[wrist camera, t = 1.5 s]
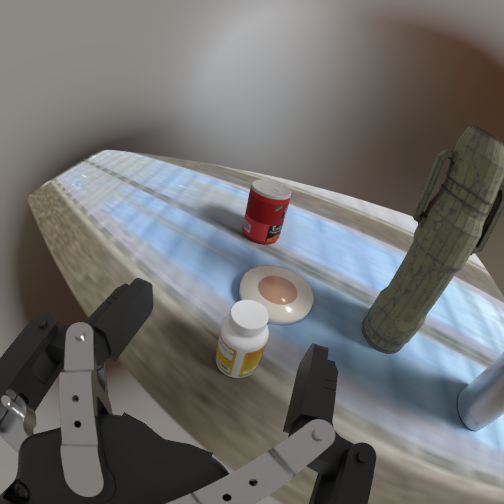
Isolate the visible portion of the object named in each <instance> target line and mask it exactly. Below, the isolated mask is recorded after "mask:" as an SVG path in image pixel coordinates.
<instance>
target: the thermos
mask: <svg viewBox="0 0 504 504" xmlns="http://www.w3.org/2000/svg"><path fill="white" fill-rule="evenodd" d="M503 145H504V144H503V143H502V142H501V141H500V140H498V139H497V138H495V137H494V136H493V135H491V134H489V133H487V132H486V131H484V130H482V129H480V128H478V127H475V126H474V127H473V128H472V127H468V128H467V129H466V131H465V132H464V133H463V135H462V136H461V137H460V139H459V140H458V141H457V145H456V148H455V150H454V152H453V151H451V150H450V151H449V150H446V149H444V150H443V151H441V152H440V153H438V154H436V156H435V159H434V162H433V164H432V167H431V169H430V172H429V174H428V177H427V179H426V182H425V184H424V187H423V189H422V192H421V194H420V196H419V199H418V201H417V204H416V206H415V209H414V212H413V218H414V220H416V221H417V222H418V226H417V228H416V230H415V233H414V241H413V243H412V245H411V247H410V249H409V251H408V253H407V255H406V256H405V258H404V260H403V262H402V264H401V265H400V267H399V269H398V270H397V272H396V274H395V276H394V277H393V279H392V281H391V282H390V284H389V286H388V287H386V288H385V289H384V290H382V291H381V292H380V294H379V296H378V297H377V299H376V300H375V302H374V304H373V305H372V307H371V308H370V310H369V312H368V315H367V316H366V317H365V319H364V321H363V323H362V331H363V334H364V337H365V338H366V340H367V341H368V343H369V344H370V345H371V346H372V347H374V348H375V349H377V350H378V351H380V352H383V353H387V354H393V353H396V352H398V351H399V350H400V349H401V348H402V347H403V346H404V344H405V343H408V342H409V340H410V339H411V338H412V337H413V336H414V334H415V333H416V332H417V331H418V330H419V328H420V327H421V326H422V325H423V323H424V321H425V318H426V315H427V313H428V312H429V310H430V309H431V308H432V306H433V305H434V304H435V302H436V301H437V300H438V298H439V297H440V295H441V294H442V293H443V291H444V290H445V288H446V287H447V285H448V284H449V282H450V281H451V279H452V278H453V276H454V275H455V273H456V272H458V271H459V270H461V269H462V268H463V266H464V265H465V263H466V261H467V260H468V258H469V256H470V255H472V254H473V253H477V252H480V251H482V249H483V247H484V245H485V244H486V242H487V240H488V238H489V236H490V234H491V233H492V231H493V228H494V226H495V225H496V223H497V221H498V219H499V217H500V215H501V212H502V210H503V208H504V186H503V185H502V180H503V177H504V147H503ZM447 157H448V158H449V159H450V160H451V161H450V164H449V166H448V169H447V172H446V178H445V181H444V183H443V184H441V186H440V189H439V191H438V192H437V193H436V194H435V195H434V197H433V198H432V199H431V200H430V201H429V203H428V205H427V207H426V210H425V212H424V211H423V210H424V208H425V206H426V203H427V201H428V199H429V196H430V194H431V192H432V189H433V187H434V185H435V182H436V180H437V177H438V175H439V172H440V170H441V167H442V165H443V162H444V160H445V159H446V158H447ZM497 192H498V195H497V198H496V200H495V202H494V204H493V207H492V209H491V211H490V213H489V215H488V217H487V219H486V221H485V223H484V220H485V218H486V216H487V211H488V208H489V206H490V204H492V203H493V201H494V199H495V196H496V194H497ZM483 224H484V225H483Z"/></svg>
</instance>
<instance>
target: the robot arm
mask: <svg viewBox="0 0 504 504" xmlns="http://www.w3.org/2000/svg"><path fill="white" fill-rule="evenodd" d="M152 309H153V290H152V284H151V283H149V282H147V281H145V280H142V279H140V278H136V279H135V280H134V281H133V282H132V283H131V284H130V285H128V284H124V285H122V286H120V287H118V288H116V289H115V290H114V291H113V293H112V294H111V295H110V296H109V297H108V298H107V299H106V300H105V302H103V303H102V304H101V305H100V306H99V307H98V308H97V310H96V311H95V312H94V313H93V314H92V315H91V316H90V317H89V318H88V319H87V320H86V321H85V322H84V323H83V322H78V323H75V324H73V325H71V326H68V325H65V324H61V323H57V322H55V320H54V317H53V316H52V315H51V314H49V313H40V314H38V315H37V316H35V317H34V318H33V319H32V320H31V322H30V323H29V324H28V325H27V326H26V327H25V328H24V330H23V331H22V332H21V333H20V334H19V336H18V337H17V338H16V339H15V341H14V342H13V343H12V344H11V345H10V347H9V348H8V349H7V351H6V352H5V353H4V354H3V356H2V357H1V358H0V436H1V437H2V438H3V439H4V440H5V441H6V442H7V443H8V444H9V445H10V446H11V447H12V448H13V449H14V450H16V451H17V452H18V453H19V459H18V460H19V462H18V472H17V476H16V479H15V481H14V482H13V483H12V484H11V485H10V486H9V487H8V488H7V489H6V490H5V491H4V492H3V493H2V494H1V495H0V504H255V503H257V502H258V501H260V500H262V499H263V498H265V497H266V496H268V495H269V494H271V493H272V492H274V491H275V490H277V489H278V488H280V487H281V486H283V485H284V484H285V483H287V482H288V481H290V480H291V479H292V478H293V477H294V476H295V474H297V473H298V472H299V471H300V470H302V469H303V468H304V467H305V466H307V467H309V468H311V469H312V470H314V471H316V472H318V475H317V479H316V482H315V486H314V489H313V492H312V495H311V498H310V501H309V504H367V503H368V499H369V495H370V490H371V485H372V480H373V474H374V469H375V462H376V453H375V450H374V449H373V447H372V446H371V445H369V444H367V443H357V444H353V443H351V442H349V441H347V440H345V439H343V438H342V437H340V436H339V435H338V434H337V433H336V432H335V430H334V428H333V424H332V418H333V411H334V403H335V395H336V392H335V391H336V386H337V384H336V383H337V376H338V371H337V368H336V365H335V362H333V361H330V360H327V358H328V348H326V347H323V346H320V345H316V344H312V345H311V346H310V348H309V350H308V351H307V353H306V354H305V356H304V358H303V359H302V361H301V363H300V365H299V368H298V371H297V375H296V379H295V384H294V388H293V393H292V397H291V401H290V405H289V409H288V413H287V417H286V421H285V425H284V429H283V432H287V433H289V436H288V438H287V439H286V440H284V441H283V442H281V443H280V444H279V445H277V446H276V447H274V448H272V449H271V450H269V451H267V452H266V453H264V454H263V455H261V456H259V457H258V458H256V459H255V460H253V461H251V462H250V463H248V464H246V465H245V466H243V467H241V468H239V469H238V470H236V471H234V472H232V473H231V474H229V473H228V471H227V470H226V469H225V467H224V466H223V465H222V464H221V463H220V462H218V461H217V460H216V459H214V458H213V457H211V456H212V454H213V453H211V452H208V451H206V450H203V449H200V448H198V447H195V446H193V445H190V444H185V443H180V442H174V441H170V440H165V439H163V438H162V437H160V436H159V435H158V434H156V433H155V432H154V431H153V430H152V429H151V428H149V427H148V426H147V425H146V424H145V423H143V422H141V421H139V420H137V419H135V418H133V417H132V416H130V415H128V414H126V413H125V412H124V414H123V415H122V416H119V415H113V414H112V409H111V405H110V401H109V398H108V390H107V381H106V368H105V362H106V360H107V359H108V358H110V359H112V360H113V361H116V360H117V358H118V357H119V356H120V354H121V353H122V351H123V350H124V349H125V347H126V346H127V345H128V343H129V342H130V341H131V339H132V338H133V337H134V335H135V334H136V333H137V331H138V330H139V329H140V327H141V326H142V325H143V323H144V322H145V321H146V320H147V318H148V317H149V316H150V314H151V312H152ZM63 368H64V371H62V369H63ZM59 374H60V376H59V400H60V422H61V427H60V428H57V429H53V430H50V431H45V432H41V433H37V434H33V428H35V427H36V416H35V410H36V409H37V407H38V406H39V404H40V403H41V401H42V399H43V398H44V396H45V395H46V393H47V392H48V390H49V389H50V387H51V386H52V384H53V382H54V381H55V380H56V378H57V376H58V375H59ZM458 411H459V415H460V417H461V420H462V421H463V423H464V424H465V425H466V426H467V427H468V428H469V429H471V430H473V431H478V430H480V429H482V428H484V427H485V426H487V425H488V424H490V423H491V422H493V421H494V420H496V419H497V418H498V417H500V416H501V415H503V414H504V352H503V353H502V354H501V355H500V356H499V357H498V358H497V359H496V360H495V361H494V362H493V363H492V364H491V365H490V366H489V367H488V368H487V369H486V370H485V371H484V372H483V373H481V374H480V375H479V376H478V377H477V378H476V379H475V380H474V381H472V382H471V383H470V384H469V385H468V386H467V387H465V388H464V389H463V390H462V391H461V392H460V394H459V397H458Z"/></svg>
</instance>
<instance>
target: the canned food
mask: <svg viewBox="0 0 504 504" xmlns="http://www.w3.org/2000/svg"><path fill="white" fill-rule="evenodd" d="M290 197H291V191H290V190H289V189H288V188H287V187H286V186H284V185H282V184H280V183H277V182H274V181H270V180H256V181H254V182H252V185H251V189H250V193H249V198H248V203H247V209H246V214H245V219H244V224H243V233H244V235H245V236H246V237H247V238H248V239H249V240H251V241H253V242H255V243H259V244H272V243H275V242H276V241H277V239H278V238H279V235H280V232H281V229H282V225H283V222H284V218H285V215H286V211H287V208H288V204H289V201H290Z"/></svg>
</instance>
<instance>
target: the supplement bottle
mask: <svg viewBox="0 0 504 504" xmlns="http://www.w3.org/2000/svg"><path fill="white" fill-rule="evenodd" d="M268 319H269V315H268V311H267V310H266V308H265V307H264V306H263V305H262V304H260V303H258V302H256V301H253V300H241V301H238V302H236V303H235V304H234V305H233V306H232V308H231V310H230V314H229V315H227V316H226V317H225V318H224V320H223V321H222V324H221V328H220V334H219V340H218V346H217V352H216V363H217V366H218V368H219V369H220V370H221V371H222V372H223V373H224V374H225V375H227V376H229V377H233V378H243V377H247V376H249V375H251V374H252V373H253V372H254V371H255V369H256V367H257V365H258V363H259V360H260V358H261V356H262V353H263V351H264V348H265V346H266V343H267V341H268V337H269V329H268V326H267V322H268Z"/></svg>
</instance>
